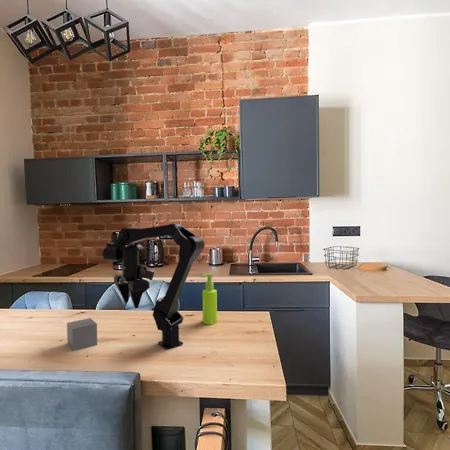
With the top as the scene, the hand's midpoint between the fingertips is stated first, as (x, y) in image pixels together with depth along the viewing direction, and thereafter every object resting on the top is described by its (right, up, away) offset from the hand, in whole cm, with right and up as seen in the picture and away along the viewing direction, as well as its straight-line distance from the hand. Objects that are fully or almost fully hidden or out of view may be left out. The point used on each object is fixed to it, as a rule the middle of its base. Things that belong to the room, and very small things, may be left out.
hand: (131, 305), depth 110 cm
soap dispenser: (+27, -12, +16) cm, 34 cm away
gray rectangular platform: (-16, -12, -5) cm, 20 cm away
